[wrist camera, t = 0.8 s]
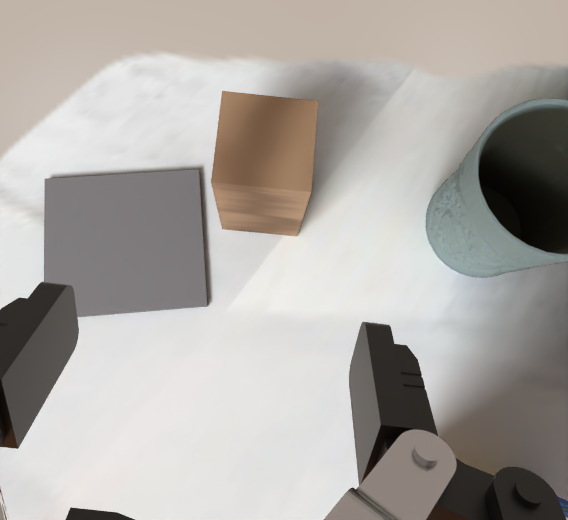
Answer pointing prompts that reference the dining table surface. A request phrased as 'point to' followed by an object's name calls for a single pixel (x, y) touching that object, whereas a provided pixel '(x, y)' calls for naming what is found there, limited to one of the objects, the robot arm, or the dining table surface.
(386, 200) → the dining table surface
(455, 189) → the embossed blue-grey cup
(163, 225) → the charcoal mat
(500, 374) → the dining table surface
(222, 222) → the brown wooden block
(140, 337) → the dining table surface
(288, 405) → the dining table surface
